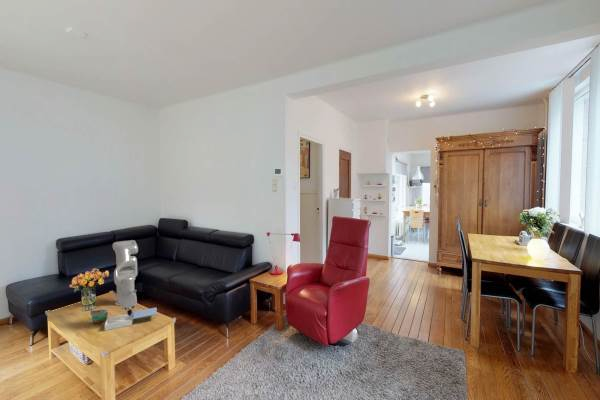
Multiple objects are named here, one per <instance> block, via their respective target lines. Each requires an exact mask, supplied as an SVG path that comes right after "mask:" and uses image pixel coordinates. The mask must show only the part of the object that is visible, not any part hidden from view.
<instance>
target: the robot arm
mask: <svg viewBox="0 0 600 400" xmlns="http://www.w3.org/2000/svg"><path fill="white" fill-rule="evenodd" d="M112 249H113V251H114V252H115V260H116V262H115V264H116V267H115V269H114V270H113V282H114V284H115V285H116V301H115V302H114V303H115V306H121V310H125V311H126V312H127V313H126V314H128V316H129V315H131V314H132V311H133V310H134V308H136V307H138V299H137V298H138V297H137V293H136V292H137V289H135V280H136V277H137V276H138V259H137V257H136V256H134V255H135V254H138V252H139V246H138V244H137V242H136V240H135V239H134V240H133V239H131V240H122V241H121V240H120V241H115V242H113V243H112Z"/></svg>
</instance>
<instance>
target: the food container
mask: <svg viewBox="0 0 600 400" xmlns="http://www.w3.org/2000/svg"><path fill="white" fill-rule="evenodd" d="M108 313H109V308H106V309H98V310H92V309H91V311H90V316H91V321H92V324H93V325H95V326H97V325H103V324H105V323H106V320H107V318H108V315H109V314H108Z"/></svg>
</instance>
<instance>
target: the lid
mask: <svg viewBox="0 0 600 400" xmlns="http://www.w3.org/2000/svg"><path fill="white" fill-rule="evenodd" d="M157 311H158V309H157V307H151V308H147V309H141V310H136V311H135V310H134V309H132V318H131V319H133V320H134V319H136V320H137V319H141V318H142V319H143V318H145V317H151V316H156V315H157V313H158V312H157Z"/></svg>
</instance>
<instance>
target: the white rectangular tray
mask: <svg viewBox="0 0 600 400" xmlns="http://www.w3.org/2000/svg"><path fill="white" fill-rule="evenodd" d="M131 318H132V314H131V315H129V316H128V314H127V313H126V314H120V315H119V314H118V315H116V316H115V315H114V316H109V317H108V316H107V320H106V322H104V332H105V331H110V330H117V329H121V328H126V327H132V326H133V322H134V319H131Z"/></svg>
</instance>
